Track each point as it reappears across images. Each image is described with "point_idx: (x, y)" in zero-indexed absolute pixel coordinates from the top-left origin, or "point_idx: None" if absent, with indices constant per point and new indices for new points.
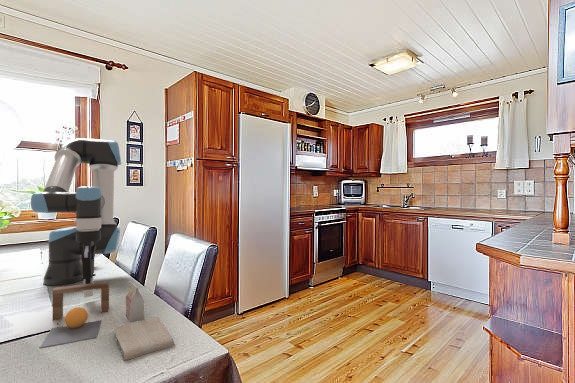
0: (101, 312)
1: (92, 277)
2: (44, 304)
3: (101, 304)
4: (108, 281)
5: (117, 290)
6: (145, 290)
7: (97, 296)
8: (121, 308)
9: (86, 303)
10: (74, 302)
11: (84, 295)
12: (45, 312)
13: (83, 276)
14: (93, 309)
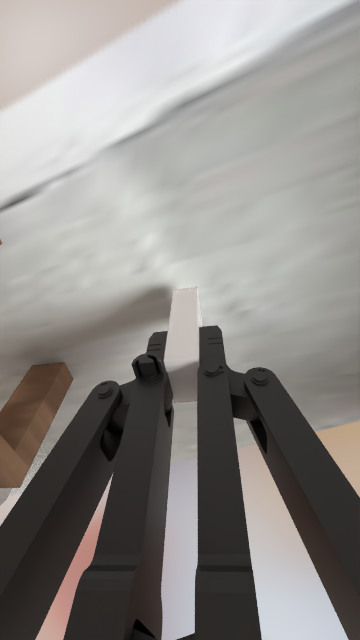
0: (31, 368)
1: (185, 399)
2: (221, 15)
3: (15, 391)
4: (17, 486)
5: (313, 369)
6: (254, 442)
7: (255, 312)
8: (76, 406)
9: (159, 292)
10: (194, 230)
11: (173, 298)
12: (51, 119)
13: (89, 399)
14: (75, 335)
